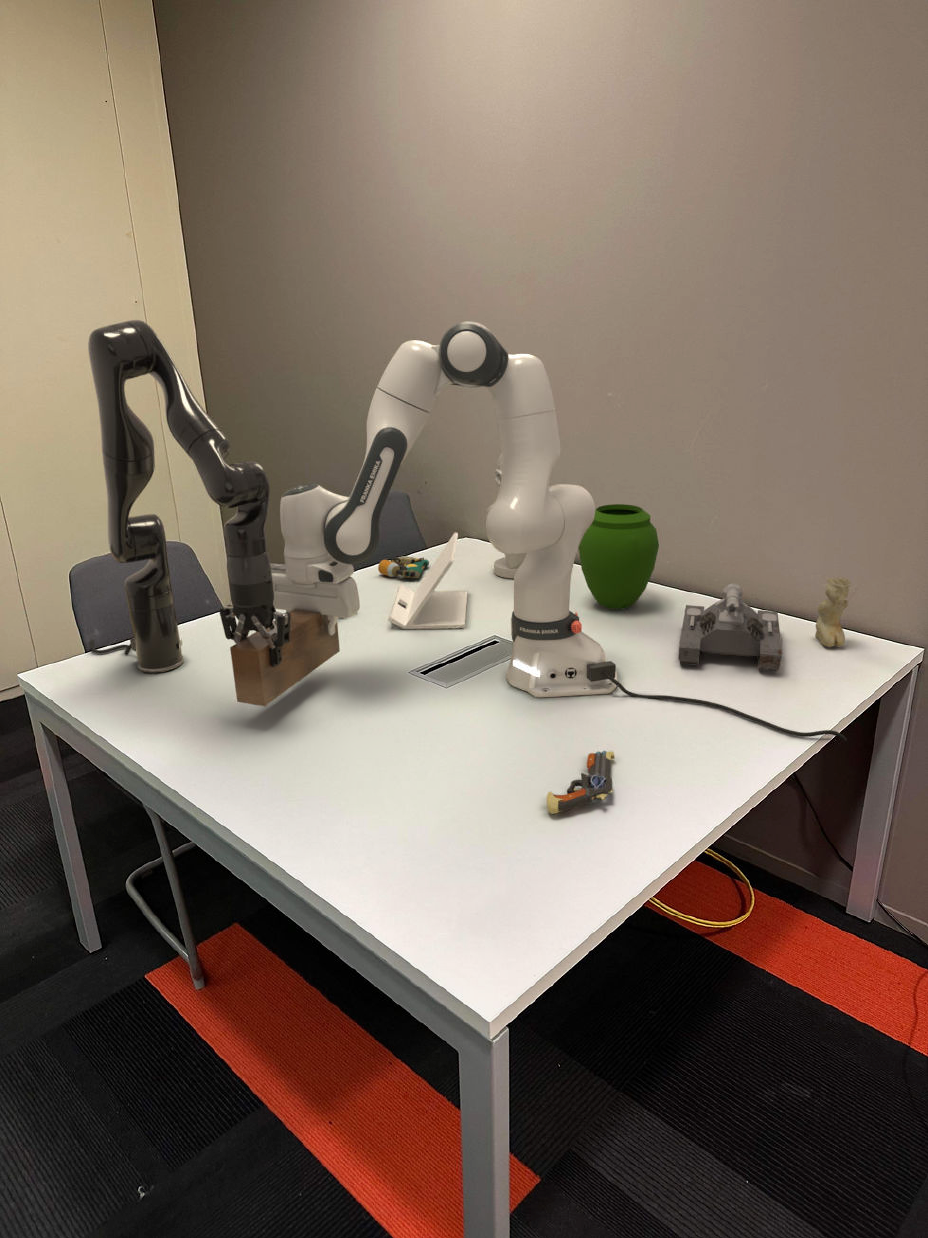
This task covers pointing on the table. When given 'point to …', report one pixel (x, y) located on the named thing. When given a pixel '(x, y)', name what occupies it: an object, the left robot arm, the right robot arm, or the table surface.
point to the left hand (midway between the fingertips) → (260, 662)
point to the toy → (731, 631)
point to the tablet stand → (431, 599)
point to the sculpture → (832, 613)
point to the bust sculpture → (511, 561)
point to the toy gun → (586, 784)
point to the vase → (618, 554)
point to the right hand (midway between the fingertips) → (314, 632)
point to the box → (298, 658)
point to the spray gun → (403, 566)
